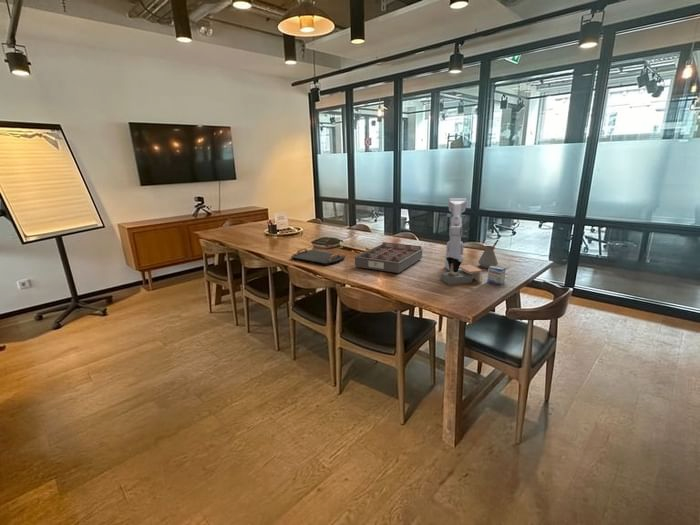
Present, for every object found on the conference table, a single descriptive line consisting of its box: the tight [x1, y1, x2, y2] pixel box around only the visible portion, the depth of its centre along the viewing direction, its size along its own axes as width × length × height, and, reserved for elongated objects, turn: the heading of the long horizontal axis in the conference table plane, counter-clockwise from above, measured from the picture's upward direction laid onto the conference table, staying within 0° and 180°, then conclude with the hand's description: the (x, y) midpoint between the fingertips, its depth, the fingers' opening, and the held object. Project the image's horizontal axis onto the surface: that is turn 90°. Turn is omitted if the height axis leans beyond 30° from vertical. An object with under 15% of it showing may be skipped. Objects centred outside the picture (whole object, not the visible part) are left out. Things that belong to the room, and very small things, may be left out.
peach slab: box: [459, 264, 483, 283], centre depth 199 cm, size 12×8×7 cm
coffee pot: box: [478, 239, 500, 269], centre depth 224 cm, size 21×12×15 cm, turn 138°
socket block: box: [440, 270, 474, 286], centre depth 198 cm, size 10×14×4 cm
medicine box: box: [487, 265, 507, 286], centre depth 193 cm, size 8×4×9 cm, turn 44°
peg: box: [449, 263, 457, 276], centre depth 196 cm, size 4×4×8 cm
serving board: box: [290, 248, 346, 267], centre depth 250 cm, size 39×23×6 cm, turn 54°
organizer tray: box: [353, 241, 424, 274], centre depth 234 cm, size 32×40×10 cm
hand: (453, 271), depth 196 cm, fingers closed on peg, 3 cm apart
